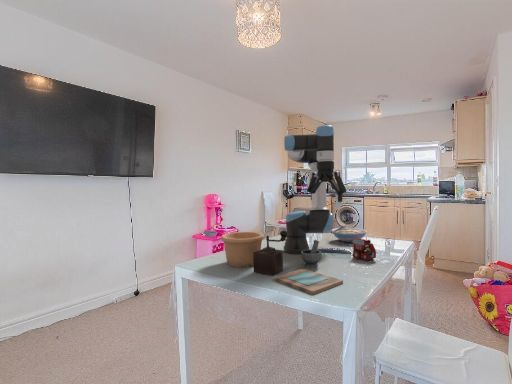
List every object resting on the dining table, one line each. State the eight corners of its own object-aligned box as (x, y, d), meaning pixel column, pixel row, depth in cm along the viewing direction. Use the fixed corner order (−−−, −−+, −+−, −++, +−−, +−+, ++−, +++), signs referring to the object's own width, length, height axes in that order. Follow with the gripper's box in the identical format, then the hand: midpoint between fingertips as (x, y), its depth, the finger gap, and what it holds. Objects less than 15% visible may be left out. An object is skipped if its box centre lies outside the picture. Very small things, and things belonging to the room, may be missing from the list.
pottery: (217, 260, 161) (216, 233, 160) (256, 255, 168) (255, 230, 168) (227, 271, 140) (226, 241, 140) (271, 265, 148) (270, 236, 147)
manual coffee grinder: (273, 276, 132) (272, 235, 131) (252, 272, 138) (252, 233, 137) (290, 267, 144) (289, 230, 144) (270, 264, 151) (270, 228, 150)
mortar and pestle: (314, 270, 139) (313, 244, 139) (297, 266, 146) (297, 241, 145) (326, 264, 147) (326, 240, 147) (310, 261, 154) (309, 238, 153)
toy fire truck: (372, 262, 150) (371, 241, 149) (349, 258, 159) (349, 238, 158) (378, 259, 154) (378, 239, 154) (356, 255, 164) (356, 236, 163)
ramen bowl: (361, 246, 184) (361, 233, 184) (326, 243, 197) (325, 230, 196) (371, 239, 205) (371, 227, 205) (338, 236, 217) (337, 225, 217)
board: (273, 279, 127) (273, 276, 127) (302, 271, 138) (302, 268, 138) (313, 294, 110) (313, 290, 110) (343, 283, 121) (343, 279, 121)
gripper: (299, 162, 141) (299, 207, 142) (343, 159, 122) (344, 211, 123) (309, 162, 146) (310, 206, 147) (354, 159, 126) (355, 209, 127)
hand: (325, 208), depth 135 cm, fingers open, 13 cm apart
